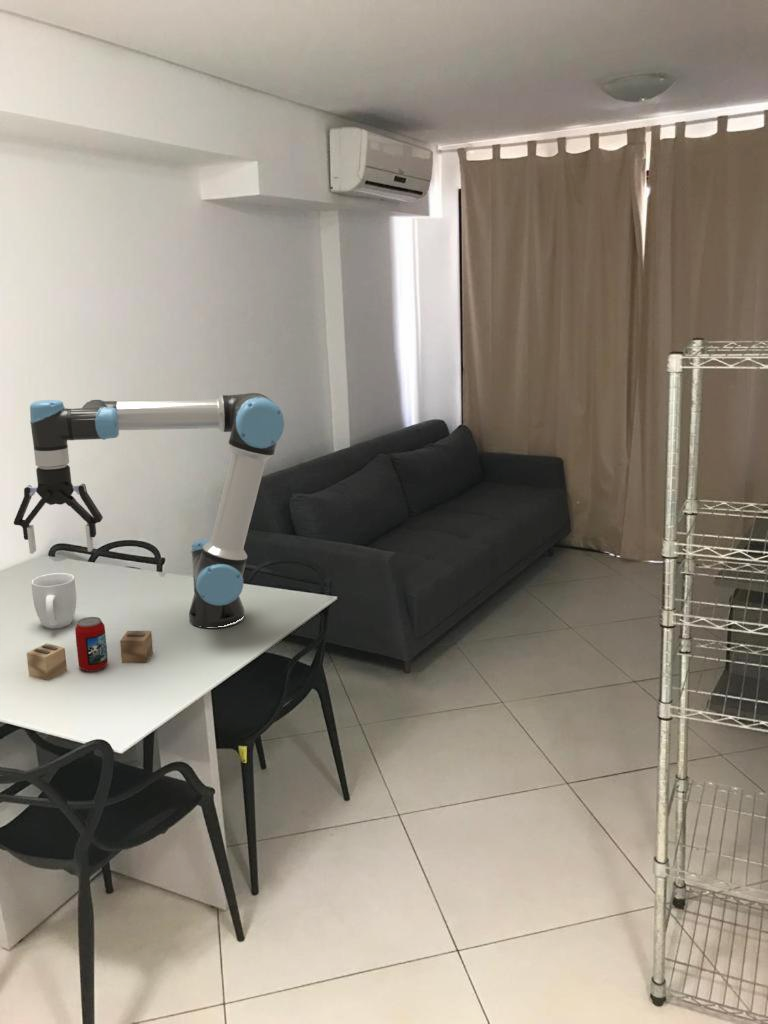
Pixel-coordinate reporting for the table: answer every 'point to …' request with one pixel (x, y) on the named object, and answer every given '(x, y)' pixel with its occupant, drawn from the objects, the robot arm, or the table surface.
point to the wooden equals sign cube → (46, 661)
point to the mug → (54, 599)
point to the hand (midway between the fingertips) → (62, 551)
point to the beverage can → (91, 644)
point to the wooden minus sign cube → (136, 646)
